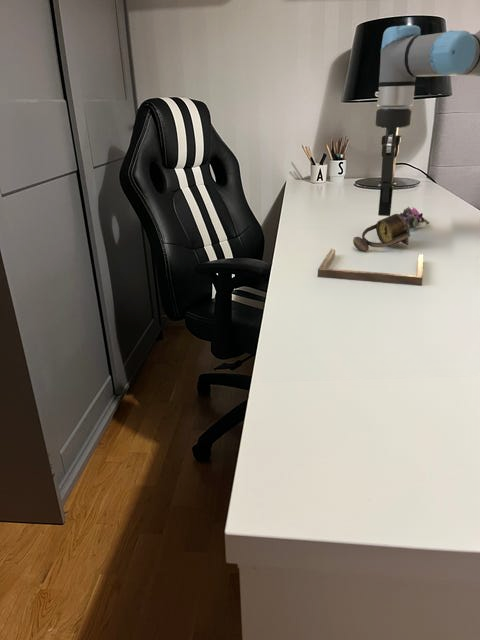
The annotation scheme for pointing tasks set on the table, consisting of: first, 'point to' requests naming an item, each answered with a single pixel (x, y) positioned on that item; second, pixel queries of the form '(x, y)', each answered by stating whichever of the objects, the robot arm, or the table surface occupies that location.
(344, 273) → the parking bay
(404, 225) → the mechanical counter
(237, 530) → the table surface
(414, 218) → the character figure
